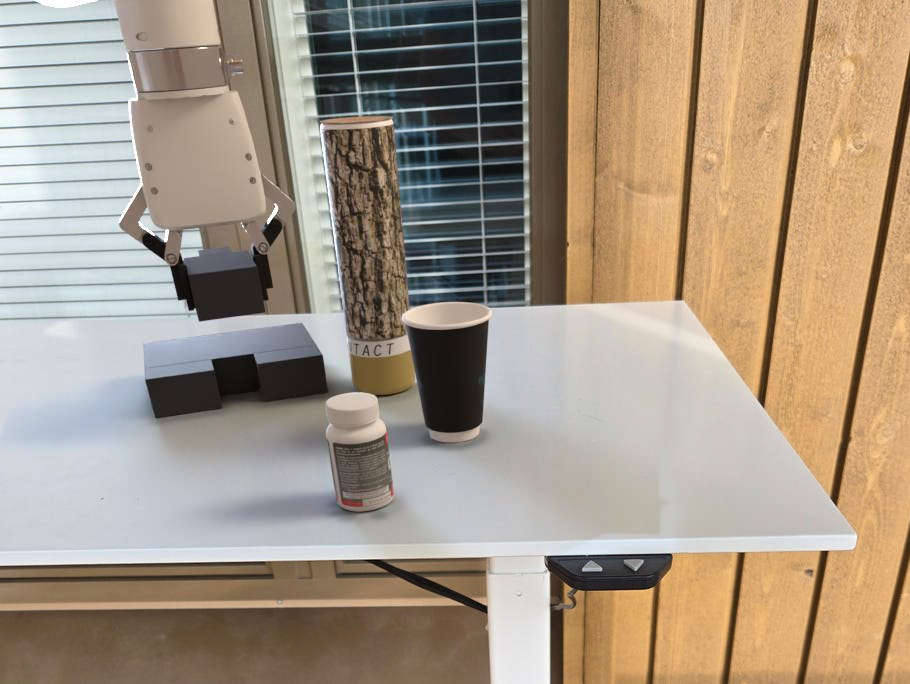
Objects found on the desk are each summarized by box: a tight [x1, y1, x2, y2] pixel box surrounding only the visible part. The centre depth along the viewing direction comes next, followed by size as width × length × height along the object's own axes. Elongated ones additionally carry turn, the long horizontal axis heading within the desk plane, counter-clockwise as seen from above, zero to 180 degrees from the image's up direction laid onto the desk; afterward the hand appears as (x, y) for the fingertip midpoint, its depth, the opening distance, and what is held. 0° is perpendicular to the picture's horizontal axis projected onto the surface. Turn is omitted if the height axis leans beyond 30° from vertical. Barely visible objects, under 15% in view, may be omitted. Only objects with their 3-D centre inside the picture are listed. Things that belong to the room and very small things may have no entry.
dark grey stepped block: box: [183, 246, 267, 322], centre depth 83 cm, size 6×11×4 cm, turn 18°
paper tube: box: [319, 115, 416, 396], centre depth 88 cm, size 7×7×25 cm
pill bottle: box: [325, 391, 395, 513], centre depth 70 cm, size 5×5×8 cm
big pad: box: [142, 322, 329, 419], centre depth 97 cm, size 18×14×4 cm
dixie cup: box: [402, 301, 493, 443], centre depth 81 cm, size 8×8×11 cm
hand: (227, 300), depth 83 cm, fingers closed on dark grey stepped block, 6 cm apart
